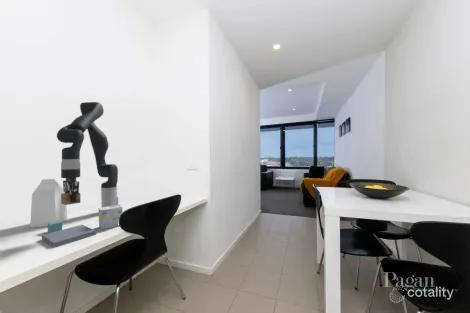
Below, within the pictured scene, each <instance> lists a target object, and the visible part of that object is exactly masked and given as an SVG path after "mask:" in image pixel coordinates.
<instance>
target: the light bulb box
mask: <svg viewBox="0 0 470 313" xmlns="http://www.w3.org/2000/svg"><path fill="white" fill-rule="evenodd" d="M122 213H124V212H123V206H122V205H121V204H118V205H114V206H108V207H103V208H102V207H98V227H99V229H100V230H101V231H102V230H107V229H111V228H115V227H120V226H119V225H118V219H119V217H120V215H121V214H122Z"/></svg>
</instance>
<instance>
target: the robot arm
mask: <svg viewBox="0 0 470 313" xmlns="http://www.w3.org/2000/svg"><path fill="white" fill-rule="evenodd" d="M79 108H80V113H81V115H79V116H78V117H76V118H75V119H74V120H73V121H71V123H69V124H67V125H65V126H63V127H61V128H60V129H59V130H58V131H57V133H56V139H57V140H58V141H59V142H60V143H63V144H71V146H69V147H63V148H62V150H61V163H60V178H61V179H65V180H63V181H62V187H63V192H65V193H70V202H76V194H77V193H80V181H77V178H80V177H81V159H80V158H81V156H80V155H81V154H80V153H81V150H82V149H81V148H82V145H83V142H84V140H85V134H84V133H85V132H86V130H87V133H88V135H89V136H88V137H89V140H90V144H91V147H92V151H93V154H94V158H95V163H96V169H97V173H98V176H99V177H100V178H107V180H106V181H104V182H102V183H101V186H100V196H101V197H100V200H101V203H100V204H101V208H103V207H108V206H114V205H119V197H118V191H117V190H118V189H117V188H118V186H117V184H118V179H119V177H118V175H119V174H118V173H119V168H118V166H117V165H116V164H113V163H109V164H108V163H107V161H106V154H107V152H108V150H109V141H108V137H107V134H106V133H104V132H103V131H102V130H101V129H100V128H99V127H98V126H97V124H95V122H96V121H97V120H99V118H101V117H102V116H103V115H104V107H103V105H102V104H101V102H97V101H89V102H88V101H87V102H81V103H80V105H79Z"/></svg>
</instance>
